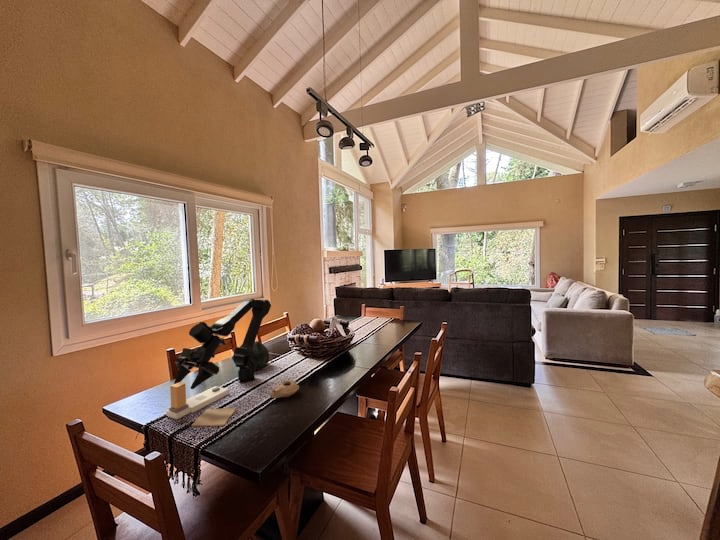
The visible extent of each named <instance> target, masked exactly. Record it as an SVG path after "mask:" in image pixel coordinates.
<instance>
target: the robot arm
mask: <svg viewBox="0 0 720 540" xmlns="http://www.w3.org/2000/svg"><path fill="white" fill-rule="evenodd" d="M271 308H272V305H271V302H270V300H268V299H254V298H245V299H244V300H243V301H242V302H241V303H240V304H239V305H238V306H237V307H236V308H234V309H233V310H232V311H231V312H230V313H229V314H228V315H227V316H225V317H222V318H220V319H218V320H217V321H215V322H214V323H212V325H210V326H209V325H208V324H207V323H206V322H205V321H199V323H196V324H195V325H193V326H192V327H191V328H190V329H189V331H188V334H189V336H190V337H192V338H193V339H194V340H195V341H196V342H197V343H199V344H202V345H201V346H200V347H195V348H194V349H193V348H192V349H191V348H188V347H187V348H185V347H183V349H182V351H181V354H180V356H179V357H177V358H176V359H175V361H174V363H175V365H176V367H177V373H176V376H175V379H174V382H173V384H176V383H178V382H181V383H182V381H183V380H184V379H185V378H186V377H187V376H188V375H189V374H190V373H191V372H192V369H193V368H195V369H198V371H197V372H198V373H197V375H196V377H195V379H194V381H193V382H192V384H191V386H190V390H194V389H196V388H197V387H198V386H200V385H201V384H203V383H204V382H205V381H207V380H209V379H210V378H211V377H212V378H213V377H214V376H217V375H218V374H219V372H220V367H219V366H218V365H217V364H215V363H214V362H213V361H210V360H211V359H214V358H215V357H216V355H215V353H216V351H217V350H218V348H219V346H225V345H226V341H225V338H224V337H228V336H229V335H231V333H232V332H233V331H234V329H235V327H236V324H237V323H238V322H239V321H240V320H241V319H242V318H244V317H245V315H247V313H248V312H249V311H250V310H251V313H252V317H251V320H250V322H249V325H248V328H247V330H246V333H245V337H244V338H243V342H242V344H241V345H240V346H236V347H235V349H234V353H233V354H232V361H233V363H234V365H235V368H238V370H237V379H238V381H239V383H240V384H243V383H242V382H244V383H249V382H253V380H254V381H256V378H255V369H254V368H255V367H256V366H257V363H258V361H257V360H255V359H254V358H253V356H254V350H253V345H254V342H256V339H257V336H258V333H259V330H260V327H261V325H262V322H263V319H264V318H265V317H266V316H267V315H268V314H269V312H270V311H271ZM248 381H249V382H248Z"/></svg>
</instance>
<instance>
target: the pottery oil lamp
mask: <svg viewBox="0 0 720 540" xmlns="http://www.w3.org/2000/svg"><path fill="white" fill-rule="evenodd" d="M299 389H300V386H299V384H297V381H296V380H285V381H282V382H281V383H280V384H279V385H278V386H277V387H276V388H274V389H272V390H271V391H270V392H269V397H270V398H272V399H279V398H288V397H291V396H292V395H294V394H295V393H297V392H298V390H299Z"/></svg>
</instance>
